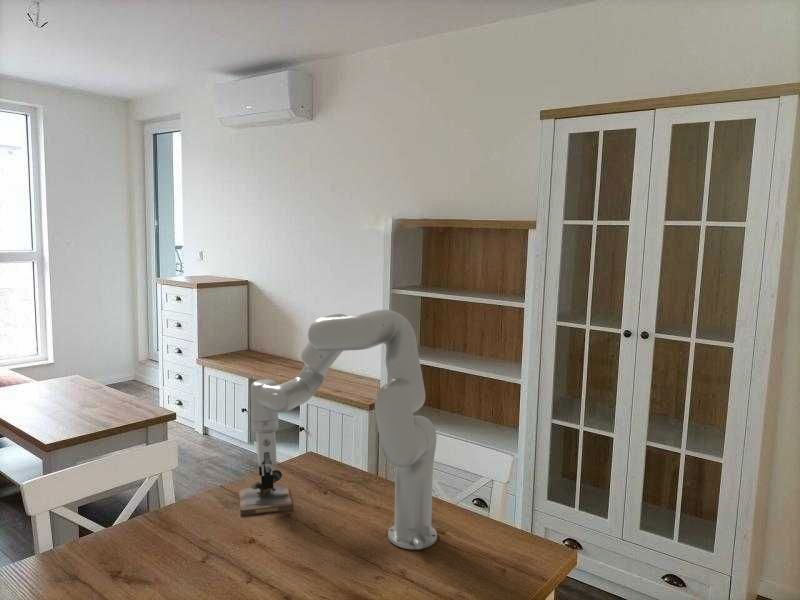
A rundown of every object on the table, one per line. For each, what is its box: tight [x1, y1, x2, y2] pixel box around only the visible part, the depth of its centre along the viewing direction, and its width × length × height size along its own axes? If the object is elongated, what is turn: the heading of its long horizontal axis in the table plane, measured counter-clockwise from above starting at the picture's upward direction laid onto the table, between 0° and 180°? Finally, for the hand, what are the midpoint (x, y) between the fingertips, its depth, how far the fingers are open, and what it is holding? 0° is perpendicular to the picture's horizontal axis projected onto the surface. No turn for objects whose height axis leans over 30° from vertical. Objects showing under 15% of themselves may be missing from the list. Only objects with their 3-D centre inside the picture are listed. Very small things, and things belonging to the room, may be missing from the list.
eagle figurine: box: [250, 469, 283, 500], centre depth 170 cm, size 8×7×9 cm
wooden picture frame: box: [238, 483, 293, 516], centre depth 169 cm, size 14×14×2 cm
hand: (266, 481), depth 168 cm, fingers open, 9 cm apart
